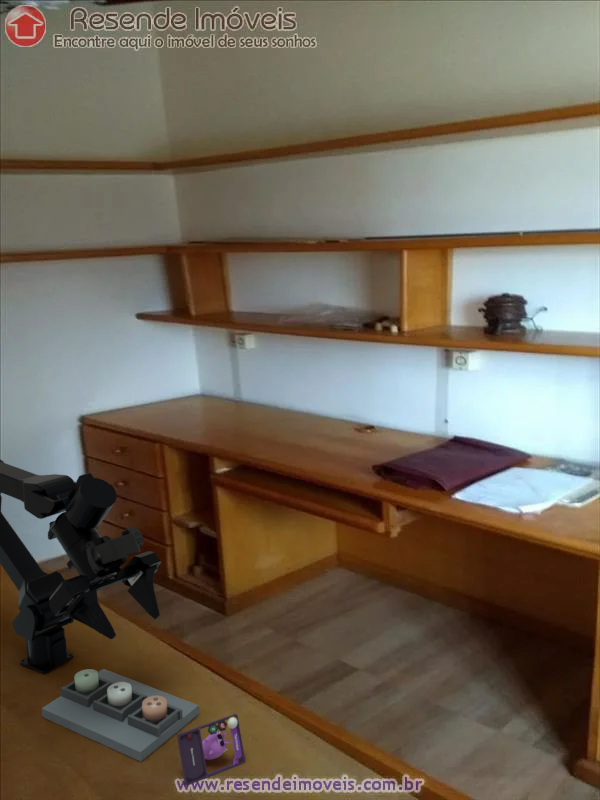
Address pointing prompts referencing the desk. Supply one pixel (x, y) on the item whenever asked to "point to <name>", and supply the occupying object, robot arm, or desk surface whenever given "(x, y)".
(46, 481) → the robot arm
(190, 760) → the game card
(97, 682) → the sage button
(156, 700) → the terracotta button
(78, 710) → the button board
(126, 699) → the grey button
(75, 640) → the desk surface
